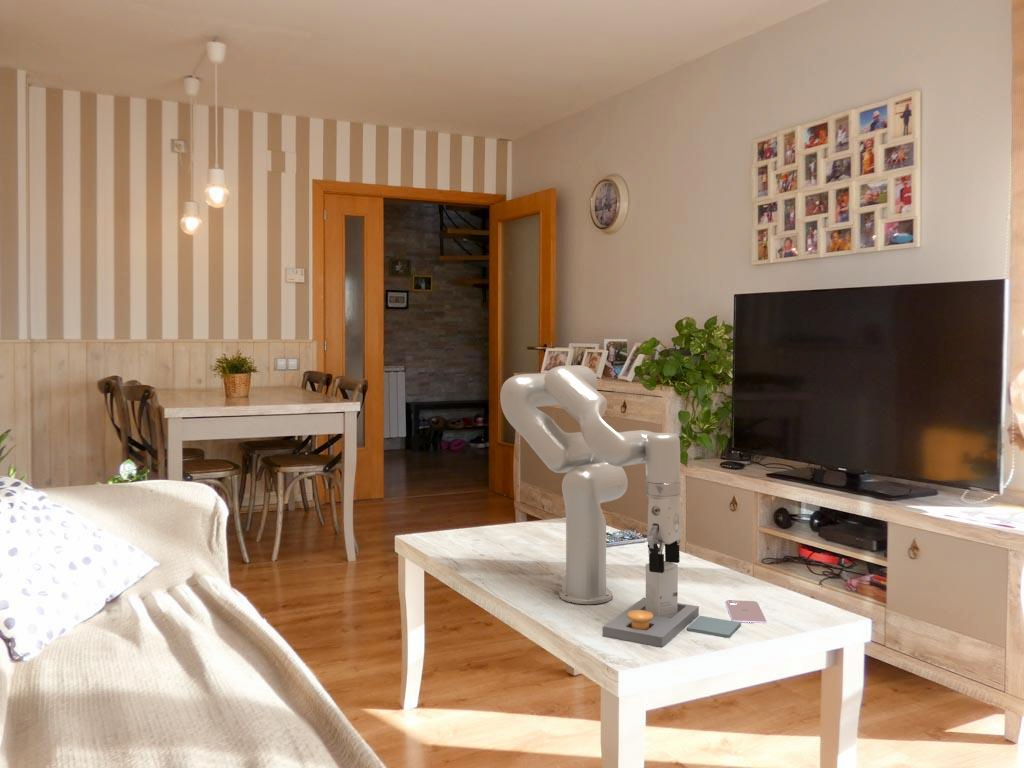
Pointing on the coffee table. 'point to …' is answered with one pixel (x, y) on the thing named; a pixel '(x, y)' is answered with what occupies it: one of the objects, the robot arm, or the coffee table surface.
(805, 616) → the coffee table surface
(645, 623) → the plunger
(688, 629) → the mat
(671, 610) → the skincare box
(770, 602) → the coffee table surface
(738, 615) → the mobile phone
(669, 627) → the housing
